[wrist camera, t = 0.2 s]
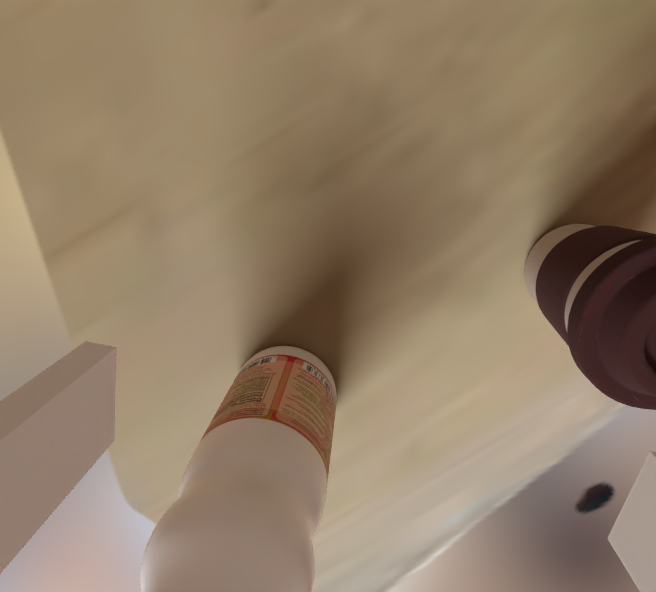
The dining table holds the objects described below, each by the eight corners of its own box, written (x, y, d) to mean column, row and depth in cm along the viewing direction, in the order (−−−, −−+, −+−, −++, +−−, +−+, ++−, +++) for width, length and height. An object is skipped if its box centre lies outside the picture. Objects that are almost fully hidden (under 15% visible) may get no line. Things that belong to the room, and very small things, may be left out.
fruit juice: (351, 360, 41) (325, 751, 15) (320, 443, 44) (253, 893, 18) (251, 329, 41) (41, 666, 14) (227, 414, 44) (17, 824, 17)
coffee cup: (604, 335, 38) (744, 445, 24) (489, 309, 39) (562, 404, 24) (655, 220, 35) (850, 270, 21) (529, 193, 35) (640, 224, 21)
